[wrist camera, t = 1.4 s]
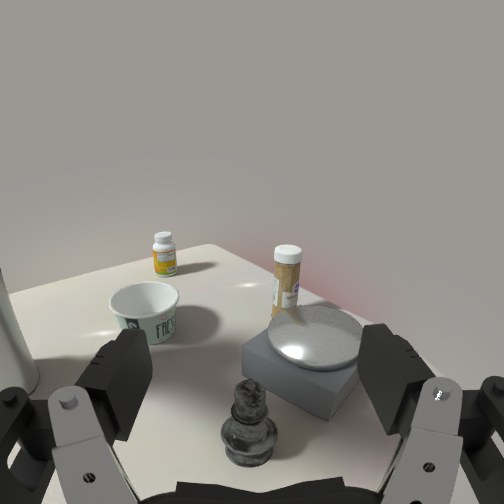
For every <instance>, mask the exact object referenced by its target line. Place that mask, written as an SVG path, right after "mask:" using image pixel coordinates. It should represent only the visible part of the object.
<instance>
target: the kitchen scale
mask: <svg viewBox="0 0 504 504" xmlns="http://www.w3.org/2000/svg"><path fill="white" fill-rule="evenodd" d="M299 306H302V305H299ZM357 358H358V357H357ZM357 358H356V359H355V360H354V361H353V362H351V363H349V364H347V365H345V366H343V367H339V368H336V369H330V370H313V369H306V368H302V367H299V366H295V365H293V364H291V363H288V362H287V361H285V360H283V359H282V358H280V357H279V356H278V355H277V354H276V353H275V352H274V351H273V350H272V348H271V347H270V345H269V342H268V328H267V329H266V330H264V331H263V332H261V333H260V334H259V335H257V336H256V337H254V338H253V339H251V340H250V341H249V342H247V343H246V344H244V345H243V346H242V375H243V376H245V377H246V378H248V379H250V378H251V379H253V380H255V381H258V382H259V383H261V384H262V385H263V386H264V388H265V389H267V390H269V391H271V392H272V393H274V394H276V395H278V396H280V397H281V398H283V399H285V400H287V401H289V402H291V403H292V404H294V405H296V406H298V407H300V408H302V409H304V410H306V411H308V412H310V413H312V414H314V415H316V416H318V417H320V418H322V419H324V420H326V421H329V420H330V419H331V417H332V416H333V415H334V413H335V412H336V411H337V410H338V408H339V407H340V406H341V404H342V403H343V402H344V400H345V399H346V398H347V396H348V395H349V393H350V392H351V391H352V389H353V388H354V386H355V385H356V384H357V382H358V381H359V379H360V377H359V375H358V371H357Z"/></svg>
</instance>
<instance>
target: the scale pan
mask: <svg viewBox="0 0 504 504" xmlns="http://www.w3.org/2000/svg"><path fill="white" fill-rule="evenodd" d="M362 330H363V328H362V326H361V325H360V323H359V322H358V321H357V320H356V319H354V318H353V317H352V316H350V315H348V314H347V313H345V312H342V311H340V310H337V309H334V308H330V307H325V306H318V305H303V306H296V307H291V308H288V309H285V310H283V311H281V312H279V313H278V314H277V315H275V316H274V317H273V318H272V320H271V321H270V323H269V326H268V342H269V345H270V347H271V348H272V350H273V351H274V352H275V353H276V354H277V355H278V356H279V357H280V358H282V359H283V360H285V361H287V362H288V363H291V364H293V365H295V366H299V367H302V368H306V369H313V370H330V369H336V368H339V367H343V366H345V365H347V364H349V363H351V362H353V361H354V360H355V359H356V358H357V357H358V352H359V347H360V342H361V336H362Z"/></svg>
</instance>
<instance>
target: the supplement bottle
mask: <svg viewBox="0 0 504 504" xmlns="http://www.w3.org/2000/svg"><path fill="white" fill-rule="evenodd" d="M171 240H172V235H171V233H170V232H159V233H156V234H155V241H156V243H154V245H153V256H154V265H155V273H156V275H158V276H160V277H169V276H173V275H175V274H176V273H177V261H176V249H175V243H174V242H173V241H171Z"/></svg>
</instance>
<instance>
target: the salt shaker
mask: <svg viewBox="0 0 504 504" xmlns="http://www.w3.org/2000/svg"><path fill="white" fill-rule="evenodd" d="M234 395H235V403H234V404H233V406H232V408H231V415H232V417H230V418H229V419H227V420H226V422H225V423H224V424H223V426H222V429H221V437H222V441H223V442H224V444H225V445H226V446H225V451H226V455H227V457H228V458H229V459H230V460H231V461H232V462H233V463H234V464H236V465H239V466H242V467H256V466H260V465H262V464H264V463H265V462H266V461H268V460H269V458H270V457H271V455H272V451H273V448H272V446H273V445H274V443H275V442H276V440H277V436H278V432H277V428H276V425H275V424H274V422H273V421H272V420H271V419H269V418H268V413H269V412H268V407H267V405H266V404H265V399H266V391H265V388H264V386H263V385H262V384H261V383H259V382H258V381H255V380H253V379H251V378H250V379H248V380H245V381H242V382H241V383H239V384H238V385H237V386H236V388H235V393H234Z"/></svg>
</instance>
